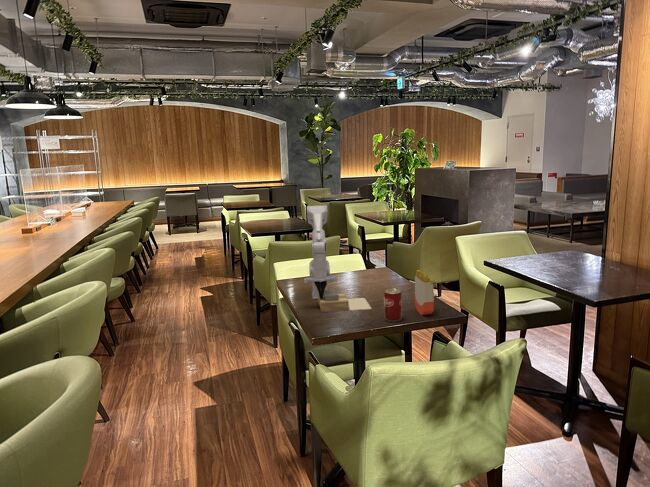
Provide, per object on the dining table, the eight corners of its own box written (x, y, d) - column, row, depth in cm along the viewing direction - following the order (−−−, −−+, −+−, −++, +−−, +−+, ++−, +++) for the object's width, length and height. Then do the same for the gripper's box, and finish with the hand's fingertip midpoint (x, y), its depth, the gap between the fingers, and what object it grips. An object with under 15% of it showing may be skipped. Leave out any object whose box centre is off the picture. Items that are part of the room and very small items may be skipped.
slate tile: (322, 295, 224) (322, 290, 223) (335, 294, 224) (335, 289, 224) (325, 301, 215) (325, 295, 214) (338, 300, 215) (338, 294, 215)
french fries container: (424, 308, 213) (424, 268, 210) (434, 316, 203) (434, 274, 200) (414, 309, 213) (414, 269, 209) (424, 317, 202) (424, 275, 199)
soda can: (388, 323, 197) (388, 294, 195) (381, 317, 204) (381, 289, 201) (404, 320, 199) (404, 292, 197) (397, 315, 206) (397, 287, 203)
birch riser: (318, 302, 227) (318, 294, 226) (343, 300, 228) (343, 292, 227) (321, 312, 213) (321, 303, 212) (348, 310, 214) (348, 301, 213)
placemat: (344, 300, 229) (344, 299, 229) (364, 298, 230) (364, 297, 230) (350, 310, 213) (350, 310, 213) (371, 309, 214) (371, 308, 214)
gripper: (304, 271, 212) (305, 301, 214) (337, 269, 213) (338, 299, 216) (303, 267, 219) (304, 296, 221) (335, 265, 220) (336, 294, 223)
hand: (321, 297), depth 219 cm, fingers closed
